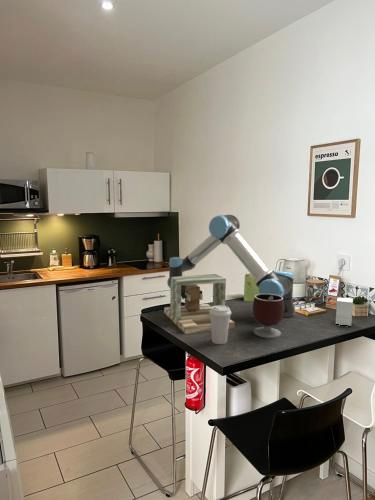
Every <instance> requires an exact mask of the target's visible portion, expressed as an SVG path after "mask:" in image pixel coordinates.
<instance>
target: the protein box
mask: <svg viewBox="0 0 375 500" xmlns="http://www.w3.org/2000/svg"><path fill="white" fill-rule="evenodd" d="M255 282H256V280H255V278H254V277H253V276H252V275H251V273H250V272H249V273H245V275H244V285H243V286H244V287H243V288H244V289H243V302H252V303H253V302H254V298H255V295H257V294H259V288H258V287H257V286H256V284H255Z"/></svg>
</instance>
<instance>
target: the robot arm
mask: <svg viewBox="0 0 375 500" xmlns="http://www.w3.org/2000/svg"><path fill="white" fill-rule="evenodd" d="M240 226H241V225H240V220H239V219H238V217H237V216H235V215H233V214H224V215H222V214H219V215H216V216H214V217H212V218H211V219H210V222H209V225H208V231H209V233H210V235H209V236H208V237H207V238H206V239H205V240H203V242H201V243H200V244H199V245H197V247H195V248H194V249H193V250H192V251H191V252H190V253H188V255H187V256H185V258H182V257H179V256H172V257H170V258H169V263H168V265H169V269H168V272H169V275H168V277H169V278H168V279H167V280H166V281H167V286H168V288H169V289H170V290H171V277H175V276H183V273H184V272H187V271H191V270H193V269H195V268H196V266H197V264H198V263H200V262H201V261H202V260H203V259H204V258H206V257H207V256H208V255H209V254H211V252H213V250H216V248H217V247H219V246H220V245H221V244H223V245H226V246H228V248H229V249H230V250H231V251H232V253H233V254H234V255H235V257H237V259H238V260H239V261H240V262H241V264H243V266H244V267H245V269H247V271H248V272H249V273H251V275H252V276H253V277H254V278H255V280H256V282H255V284H256V286H257V287H258V288H259V294H275V295H279V296H281V297H283V302H284V312H283V317H282V318H292V317H294V316H295V315H296V309H295V305H294V302H293V293H294V280H295V278H294V273H293V272H289V271H282V270H281V271H280V270H273V269H269V268H268V267H267V266H266V264H265V263H264V262H263V261H262V259H260V257H259V256H258V254H257V253H256V251H254V250H253V248H252V247H251V246H250V244H248V243H247V241H246V240H245V239H244V238H243V236H242V235H241V229H240ZM203 295H204V294H203V290H201V289H200V301H203ZM185 299H187V300H188V301H190V295H189V294H187V293H185V285H183V286H181V300H185Z"/></svg>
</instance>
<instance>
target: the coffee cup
mask: <svg viewBox="0 0 375 500" xmlns="http://www.w3.org/2000/svg"><path fill="white" fill-rule="evenodd" d="M209 313H210V317H211V331H210V332H211V342H212V343H213V344H215V345H224V344H227V343H228V337H229V336H228V335H229V330H230V329H229V321H230V320H231V315H232V310H231V308H230V307H229V306H227V305H225V306H221V305H218V306H213V305H212V306H211V309H210V311H209Z"/></svg>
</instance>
